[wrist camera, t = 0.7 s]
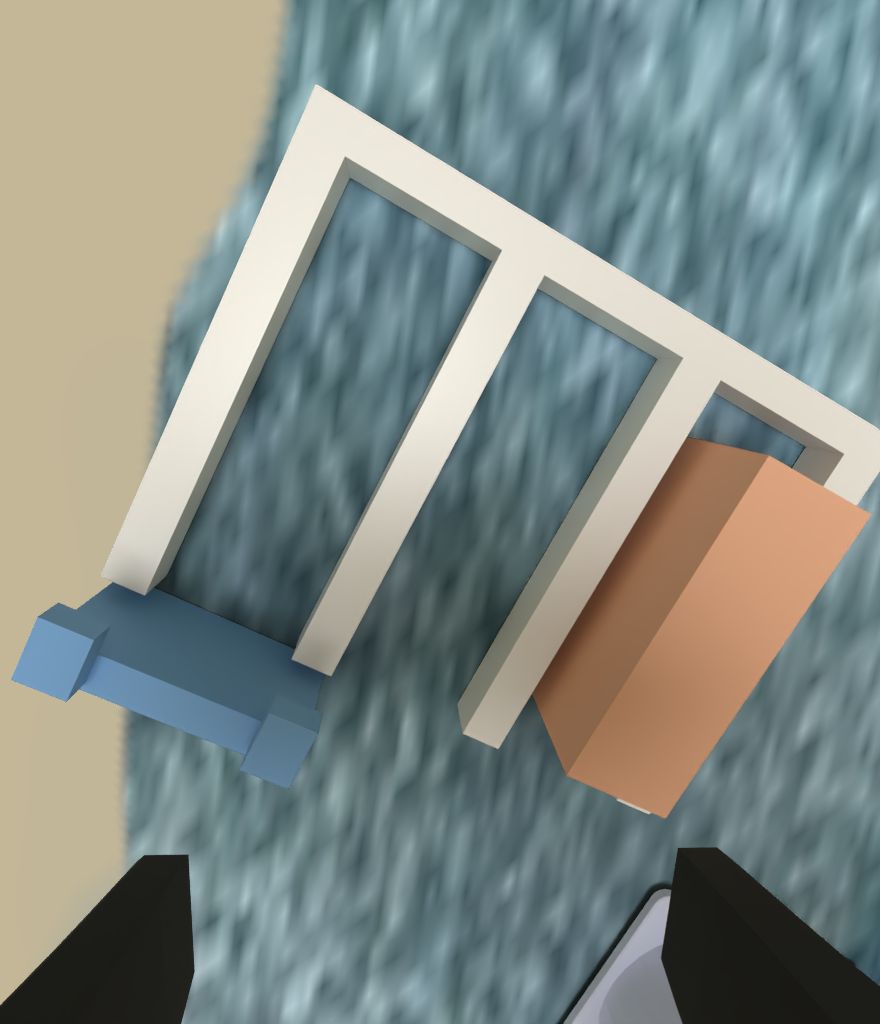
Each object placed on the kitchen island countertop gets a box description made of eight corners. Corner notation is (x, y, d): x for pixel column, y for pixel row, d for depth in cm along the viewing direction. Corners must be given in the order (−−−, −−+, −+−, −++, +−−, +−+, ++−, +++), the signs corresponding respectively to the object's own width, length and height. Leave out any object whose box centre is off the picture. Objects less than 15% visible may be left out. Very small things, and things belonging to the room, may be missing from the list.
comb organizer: (855, 435, 18) (899, 441, 16) (629, 780, 20) (649, 814, 19) (324, 113, 15) (316, 84, 14) (126, 557, 17) (100, 576, 16)
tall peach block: (758, 480, 18) (871, 514, 14) (605, 720, 20) (665, 818, 16) (677, 434, 18) (768, 455, 13) (528, 684, 19) (566, 775, 15)
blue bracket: (337, 641, 18) (318, 733, 14) (312, 689, 19) (284, 795, 14) (134, 550, 17) (37, 616, 13) (110, 603, 18) (7, 687, 13)
